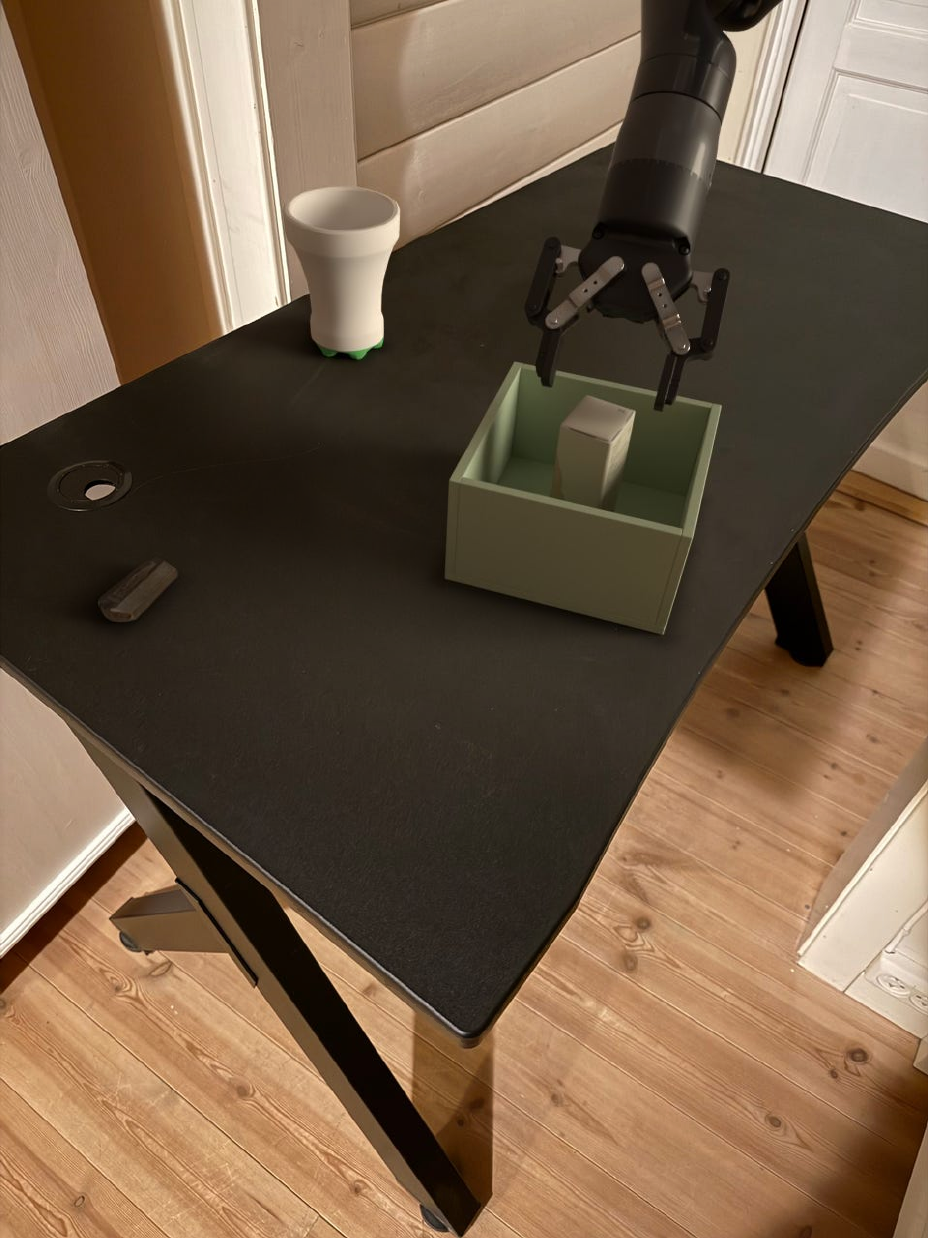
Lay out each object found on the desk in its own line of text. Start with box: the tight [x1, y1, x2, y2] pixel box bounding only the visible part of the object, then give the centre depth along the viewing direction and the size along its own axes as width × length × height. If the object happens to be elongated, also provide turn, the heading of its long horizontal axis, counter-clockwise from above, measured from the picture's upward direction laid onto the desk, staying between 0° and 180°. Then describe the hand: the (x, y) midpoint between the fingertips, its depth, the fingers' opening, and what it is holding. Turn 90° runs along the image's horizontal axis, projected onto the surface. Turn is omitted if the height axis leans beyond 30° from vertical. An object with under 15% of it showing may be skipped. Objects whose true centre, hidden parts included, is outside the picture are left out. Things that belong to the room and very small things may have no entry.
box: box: [550, 395, 635, 512], centre depth 72 cm, size 5×4×11 cm
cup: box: [282, 185, 401, 360], centre depth 91 cm, size 11×11×14 cm
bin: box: [444, 361, 723, 636], centre depth 73 cm, size 18×18×10 cm
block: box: [97, 557, 179, 623], centre depth 68 cm, size 4×6×2 cm, turn 153°
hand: (601, 396), depth 67 cm, fingers open, 8 cm apart
